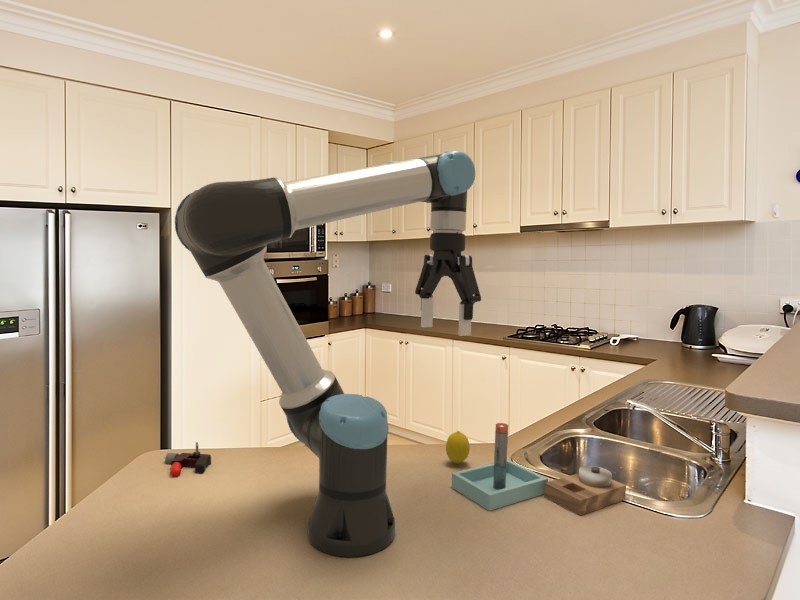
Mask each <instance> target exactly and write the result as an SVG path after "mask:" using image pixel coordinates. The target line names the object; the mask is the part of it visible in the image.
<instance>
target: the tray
mask: <svg viewBox="0 0 800 600" xmlns="http://www.w3.org/2000/svg"><path fill="white" fill-rule="evenodd" d="M493 477H494V462H492V463H488V464H484V465H480V466H476V467H471V468H467V469H463V470H460V471H456V472H452V473H451V488H452V489H453V490H456V491H457V492H458V493H460V494H462V495H463V496H464V497H466V498H468V499H469V500H471V501H473V502H475V503H476V504H477V505H479V506H481V507H483V508H484V509H486V510H487V511H493V510H496V509H500V508H503V507H507V506H509V505H513V504H516V503H521V502H522V501H526V500H529V499H532V498H535V497H538V496H542V495H543V496H544V490H545V483H546V482H549V478H547V477H545V476H543V475H542V474H539V473H536V472H535V471H533V470H531V469H529V468H526V467H524V466H522V465H521V464H518V463H516V462H514V461H511V460H510V459H508V458H507V468H506V488H504V489H500V490H496V489H494V488H493Z"/></svg>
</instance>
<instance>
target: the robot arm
mask: <svg viewBox="0 0 800 600" xmlns="http://www.w3.org/2000/svg"><path fill="white" fill-rule="evenodd" d="M475 180H476V167H475V164H474V161H473V159H472V158H471V157H470V156H469V155H468V154H467V153H465V152H464V151H461V150H452V151H449V150H448V151H445V152H443V153H440V154H434V155H429V156H422V157H419V158H412V159H406V160H401V161H400V160H398V161H387V162H385V163H384V164H377V165H374V166H369V167H368V166H367V167H362V168H357V169H356V168H355V169H351V170H346V171H344V170H343V171H340V172H335V173H328V174H323V175H317V176H312V177H306V178H301V179H296V180H294V179H293V180H290V181H282V180H280V179H279V178H278V177H276V176H275V177H274V176H273V177H269V178H262V179H253V180H241V181H239V180H238V181H237V180H235V181H217V182H212V183H209V184H208V183H207V184H206V185H204V186H202V187H201V188H199V189H196V190H194V191H192V192H191V193H189V194H187V195H186V196H185V197H184V198H183V199H182V200H181V201H180V203H179V204H178V207H177V208H176V212H175V216H174V230H175V233H176V236H177V239H178V241H179V242H180V243H181V245H182V246H183V247H184V248H185V249H187V250H188V251H189V252H190V254H191V255H192V257H193V258H194V260H195V262H196V264H197V265H198V267H199V268H200V270H201V272H202V274H203V275H204V278H205V279H208V280H212V281H216V282H217V283H219V285H220V286H221V289H222V290H223V292H224V294H225V296H226V297H227V299H228V300H229V303H230V304H231V306H232V307H233V309H234V312H235V313H236V314H237V316H238V318H239V320H240V322H241V323H242V325H243V326H244V328H245V331H247V334H248V335H249V337H250V340H252V342H253V344H254V346H255V347H256V349H257V351H258V353H259V354H260V356H261V358H262V359H263V362H264V363H265V365H266V367H267V368H268V370H269V372H270V374H271V375H272V377H273V379H274V381H275V382H276V385H277V386H278V388H279V389H280V391H281V394H280V398H279V400H278V404H279V406H280V408H281V409H282V411H283V413H284V415H285V417H286V421H287V425H288V427H289V428H288V429H289V430H290V432H291V433H292V435H293V436H294V437H295V438H296V439H297V440H298V441H299V442H301V443H302V444H304V445H305V447H306V448H307V449H308V450H310V451H311V452H312V453H313V454H314V455H315V456H316V457H317V458H318V462H319V464H318V465H319V466H318V467H319V468H318V472H319V473H318V493H317V496H316V498H315V503H314V504H313V507H312V510H311V514H310V516H309V518H308V523H307V525H308V527H307V534H308V535H307V537H308V541H309V542H310V544H311V545H312V546H313V547H315V549H318V550H319V551H321V552H323V553H324V554H325V553H326V554H329V555H332V556H338V557H347V558H351V557H353V558H354V557H362V556H368V555H372V554H375V553H378V552H380V551H382V550H384V549H385V548H387V547H388V546H389V545H391V544H392V542H393V540H394V538H395V537H396V521H395V516H394V512H393V510H392V506H391V503H390V500H389V497H388V491H387V470H388V469H387V465H388V461H387V459H388V434H389V422H388V414H387V413H388V412H387V410H386V407H385V405H383V404H382V403H381V402H380V401H379V400H377V399H375V398H373V397H370V396H367V395H366V396H363V395H362V394H356V393H345V392H344V390H343V388H342V386H341V385H340V382H339V380H338V379H337V377H336V375H335V374H334V373H335V372H333V371H331V370H327V369H323V368H322V366H321V364H320V362H319V360H318V358H317V357H316V354H315V353H314V350H313V349H312V347H311V346H310V344H309V342H308V340H307V338H306V336H305V335H304V332H303V331H302V328H301V327H300V325H299V323H298V321H297V320H296V318H295V316H294V315H293V312H292V310H291V308H290V307H289V305H288V302H287V301H286V299H285V298H284V297H285V296H284V295H283V294H282V291H281V290H280V288H279V286H278V284H277V283H276V281H275V278H274V277H273V275H272V272H271V271H270V269H269V268H268V266H267V264H266V262H265V254H266V251H267V246H266V245H269V244H272V243H275V242H279V241H283V240H287V239H291V238H292V237H293V234H294V233H295V231H297V230H301V229H306V228H311V227H314V226H320V225H324V224H327V223H332V222H338V221H341V220H345V219H349V218H353V217H354V218H356V217H358V216H364V215H367V214H371V213H372V214H373V213H376V212H380V211H384V210H385V211H386V210H389V209H394V208H398V207H402V206H407V205H411V204H416V203H426V204H430V227H429V229H430V230H431V231H432V233H431V234H430V235H429V236H430V237H429V250H430V251H433V254H425V255H424V257H423V258H424V259H423V265H422V268H421V272H420V275H419V279H418V282H417V285H416V287H415V292H414V294H415V295H418V296H419V298H420V312H421V313H420V314H421V315H420V327H421V328H433V327H434V326H433V323H434V296H433V294H434V292H435V291H436V288H437V287H438V285H439V283H440V282H441V280H442V278H444V277H448V278H449V279H451V281H452V284H453V285H454V287H455V289H456V292H457V293H458V296H459V298H460V300H461V301H460V302H459V307H458V329H457V331H458V333H457V334H458V335H457V336H458V337H459V336H460V337H463V336H471V335H472V320H473V318H474V317H473V316H474V305H475V303H477V302H481V300H482V297H481V293H480V289H479V285H478V282H477V278H476V274H475V271H474V268H473V257H472V255H462V252H464V251H465V250H466V235H465V234H464V233H463V232H465V231H466V229H467V228H466V225H467V224H466V223H467V200H468V191H469V190H470V189H471V188H472V186H473V184H474V182H475Z"/></svg>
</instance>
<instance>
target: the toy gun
mask: <svg viewBox="0 0 800 600" xmlns="http://www.w3.org/2000/svg"><path fill="white" fill-rule="evenodd" d="M164 461H165V464H170V466H171V468H170V475H171V476H172V477H174V478H176V477H179V476H180V475H181V474H182V469H183V468H188V469H194V472H195V474H204V473H205V471H206V469H207V468H208V467H209V466H211V465H212V455H211V454H210V453H209V454H207V453H201V452H200V451H199V443H198V442H197V441H195V451H193V452H192V453H191V452H181V453H180V454H179V453H176V452H167V454H166V455H165V457H164Z"/></svg>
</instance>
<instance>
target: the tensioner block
mask: <svg viewBox="0 0 800 600" xmlns="http://www.w3.org/2000/svg"><path fill="white" fill-rule="evenodd" d="M626 492H627V485H626V484H624V483H622V482H619V481H617V480H615V479H613V473H612V472H611V471H610V470H608V469H606V468H604V467H601V466H594V465H584V466H581V467H579V470H578V473H574V474H570V475H568V476H564V477H560V478H557V479H553V480H551V481H548V482H546V483H545V490H544V494H543V497H544V498H546V499H547V500H549V501H551V502H553V503H555V504H557V505H559V506H560V507H562V508H564V509H566V510H568V511H569V512H571V513H574V514H576V515H578V516H583V515H585V514H589V513H591V512H593V511H596V510H599V509H602V508H605V507H608V506H611V505H614V504H616V503H619V502H622V501H624V500H623V499H625V500H626Z"/></svg>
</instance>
